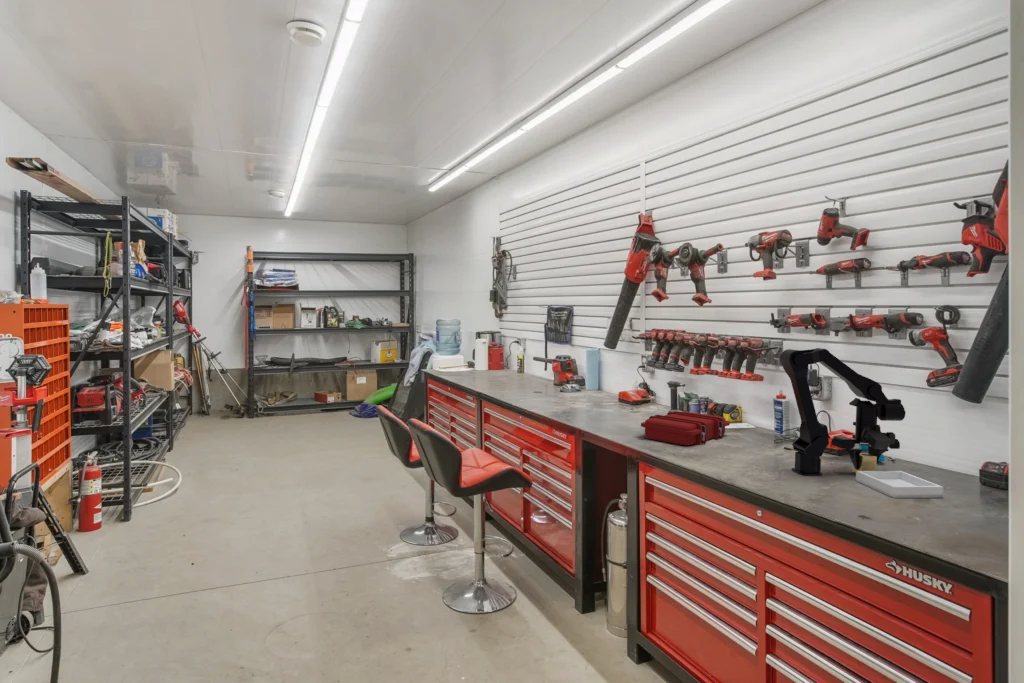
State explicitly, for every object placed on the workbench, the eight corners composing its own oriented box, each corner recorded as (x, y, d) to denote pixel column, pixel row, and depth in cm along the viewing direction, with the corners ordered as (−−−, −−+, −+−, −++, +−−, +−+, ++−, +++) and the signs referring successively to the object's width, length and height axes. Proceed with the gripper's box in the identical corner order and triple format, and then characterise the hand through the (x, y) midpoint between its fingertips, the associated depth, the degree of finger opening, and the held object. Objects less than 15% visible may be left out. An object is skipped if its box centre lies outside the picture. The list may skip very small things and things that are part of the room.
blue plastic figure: (892, 460, 192) (870, 439, 193) (880, 473, 192) (858, 451, 192) (871, 457, 203) (850, 436, 204) (860, 469, 203) (839, 448, 203)
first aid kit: (691, 449, 214) (692, 426, 214) (638, 438, 231) (638, 417, 231) (731, 437, 236) (732, 416, 236) (680, 428, 253) (680, 408, 253)
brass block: (861, 475, 180) (862, 456, 180) (852, 471, 185) (853, 452, 184) (875, 475, 180) (876, 456, 180) (866, 471, 185) (867, 452, 184)
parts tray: (893, 497, 158) (893, 487, 158) (855, 480, 174) (856, 471, 174) (942, 497, 159) (943, 486, 159) (900, 480, 175) (901, 470, 175)
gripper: (853, 425, 173) (851, 477, 174) (914, 425, 174) (911, 476, 175) (831, 418, 184) (829, 467, 185) (888, 418, 185) (886, 466, 186)
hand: (864, 469), depth 182 cm, fingers closed on brass block, 4 cm apart
